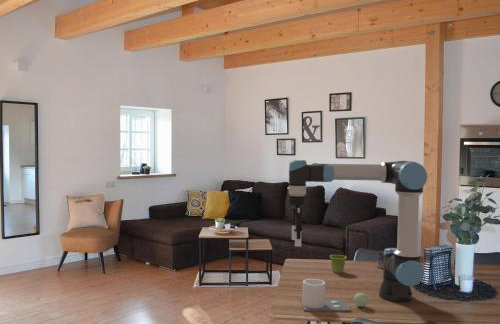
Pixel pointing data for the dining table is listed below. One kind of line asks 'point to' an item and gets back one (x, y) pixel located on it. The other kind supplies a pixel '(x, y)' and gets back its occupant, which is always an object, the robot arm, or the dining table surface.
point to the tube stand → (320, 298)
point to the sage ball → (360, 299)
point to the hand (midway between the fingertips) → (296, 243)
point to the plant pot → (338, 263)
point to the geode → (380, 261)
